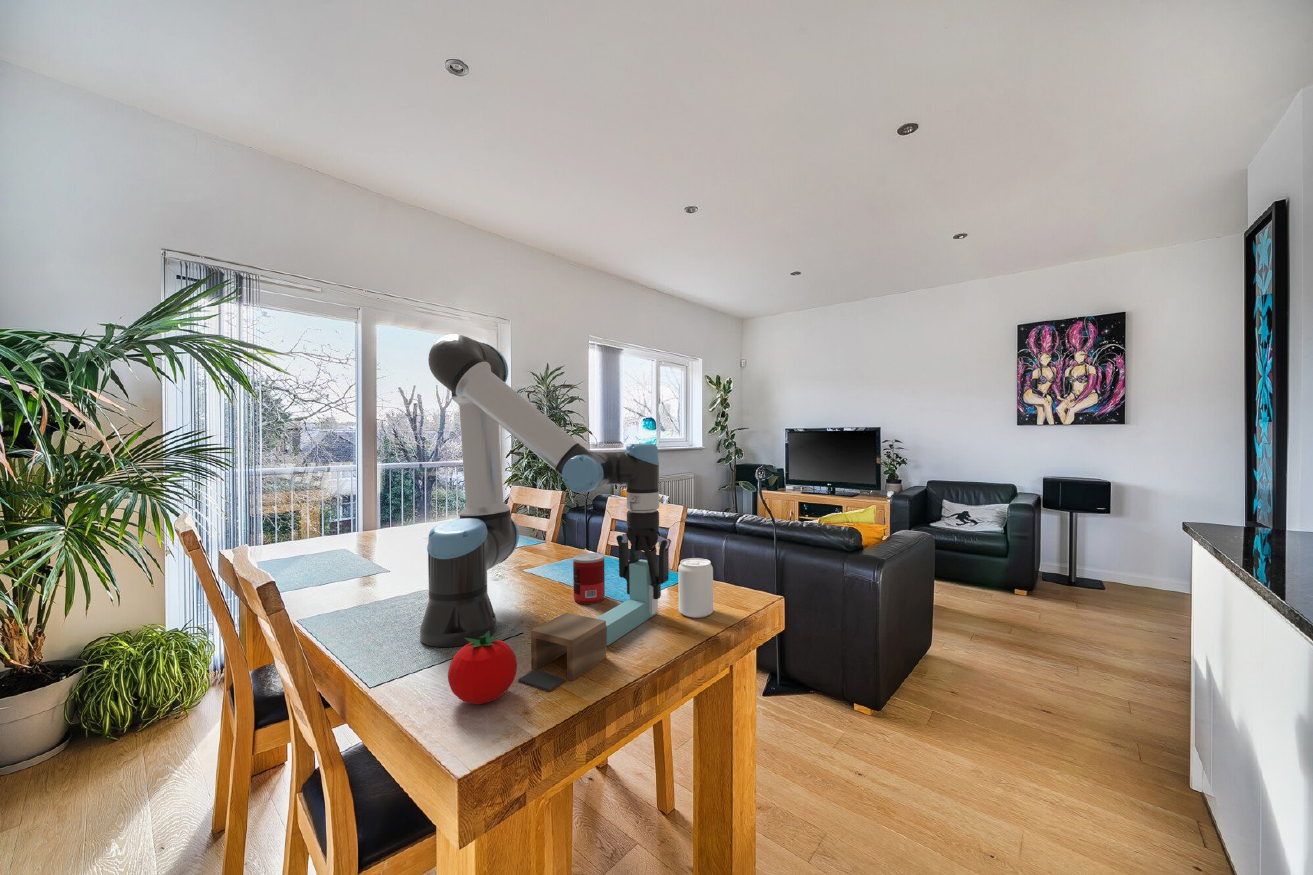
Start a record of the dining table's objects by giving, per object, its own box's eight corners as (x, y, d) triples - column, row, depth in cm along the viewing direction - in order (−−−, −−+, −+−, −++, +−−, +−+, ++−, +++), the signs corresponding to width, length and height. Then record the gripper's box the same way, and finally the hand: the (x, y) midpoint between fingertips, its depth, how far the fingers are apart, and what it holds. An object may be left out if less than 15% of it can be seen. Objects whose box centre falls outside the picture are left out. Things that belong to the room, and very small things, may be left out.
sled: (589, 641, 100) (588, 582, 100) (641, 609, 118) (640, 559, 118) (607, 646, 98) (606, 585, 98) (657, 612, 116) (657, 561, 116)
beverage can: (711, 620, 111) (711, 567, 111) (676, 618, 113) (675, 565, 113) (714, 607, 119) (714, 558, 119) (681, 605, 121) (681, 556, 121)
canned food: (610, 597, 127) (610, 555, 127) (590, 606, 121) (590, 562, 120) (587, 592, 131) (587, 551, 131) (567, 601, 125) (566, 558, 125)
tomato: (437, 718, 74) (436, 652, 73) (461, 683, 84) (460, 625, 84) (508, 716, 74) (507, 649, 74) (523, 681, 85) (522, 623, 84)
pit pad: (518, 681, 84) (518, 679, 84) (534, 671, 88) (534, 669, 88) (549, 691, 81) (549, 689, 81) (565, 680, 85) (565, 678, 85)
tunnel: (531, 668, 89) (531, 630, 89) (567, 647, 98) (566, 612, 98) (572, 681, 84) (572, 640, 84) (606, 657, 93) (605, 620, 93)
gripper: (602, 509, 115) (603, 609, 116) (668, 515, 107) (669, 622, 107) (620, 505, 122) (621, 599, 122) (684, 510, 113) (684, 611, 114)
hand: (643, 610), depth 115 cm, fingers closed on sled, 4 cm apart
